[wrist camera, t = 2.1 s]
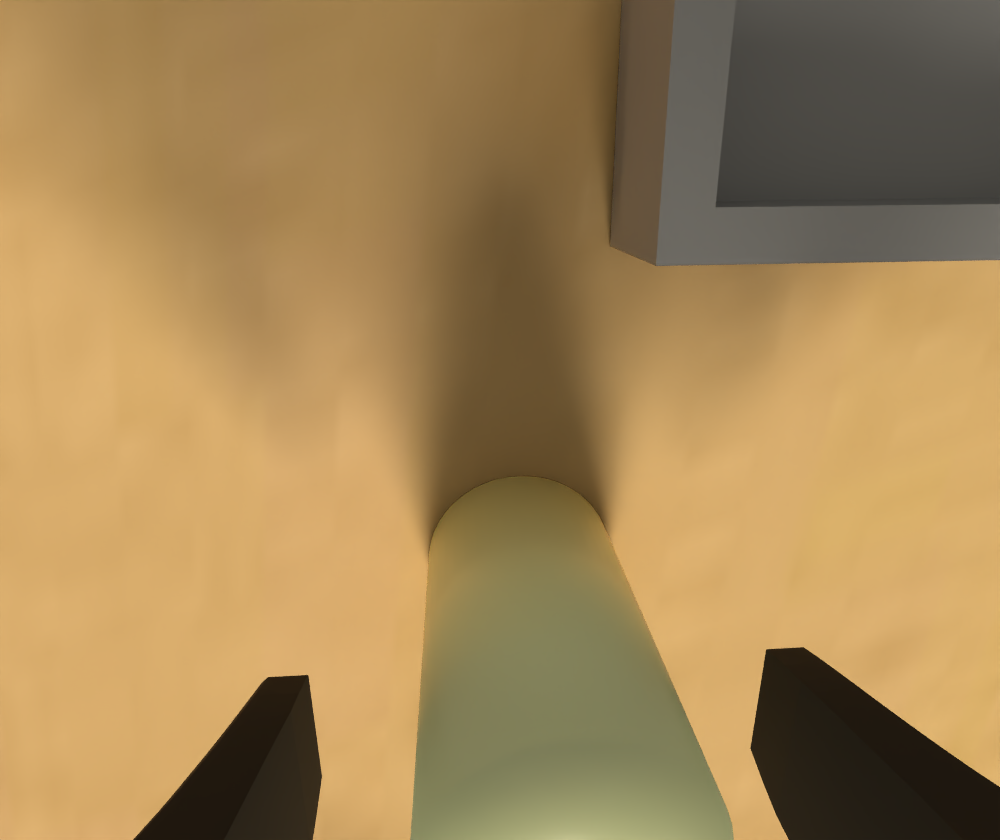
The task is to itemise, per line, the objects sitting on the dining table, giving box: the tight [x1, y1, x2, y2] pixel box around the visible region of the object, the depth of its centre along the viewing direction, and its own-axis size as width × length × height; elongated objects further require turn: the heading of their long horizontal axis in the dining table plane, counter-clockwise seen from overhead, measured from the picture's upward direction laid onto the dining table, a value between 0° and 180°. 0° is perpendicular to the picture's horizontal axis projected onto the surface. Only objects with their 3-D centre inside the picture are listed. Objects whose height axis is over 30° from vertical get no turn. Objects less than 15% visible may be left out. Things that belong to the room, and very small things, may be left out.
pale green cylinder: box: [411, 476, 734, 840], centre depth 11 cm, size 4×4×7 cm
